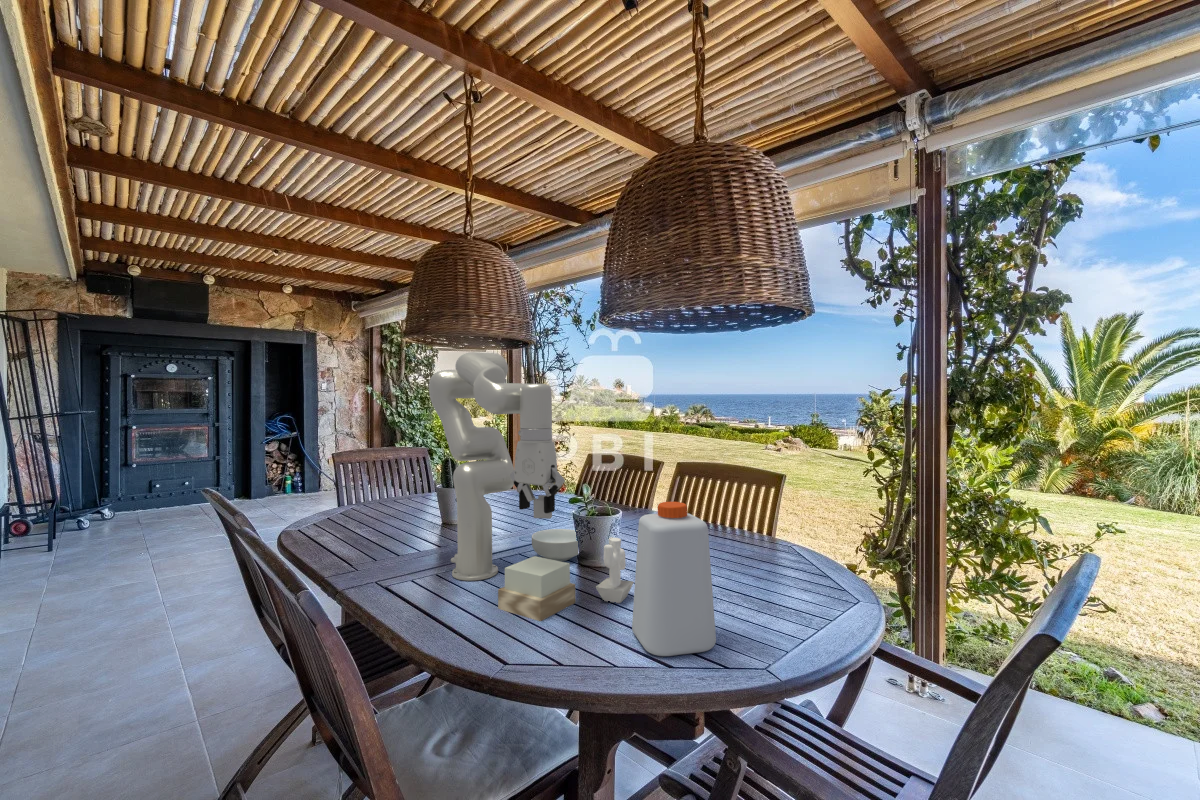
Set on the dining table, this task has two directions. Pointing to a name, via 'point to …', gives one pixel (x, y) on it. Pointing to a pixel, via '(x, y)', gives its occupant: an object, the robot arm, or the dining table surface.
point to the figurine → (614, 573)
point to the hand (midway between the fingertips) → (536, 509)
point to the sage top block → (537, 576)
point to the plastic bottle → (673, 583)
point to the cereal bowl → (555, 544)
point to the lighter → (536, 503)
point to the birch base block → (536, 602)
